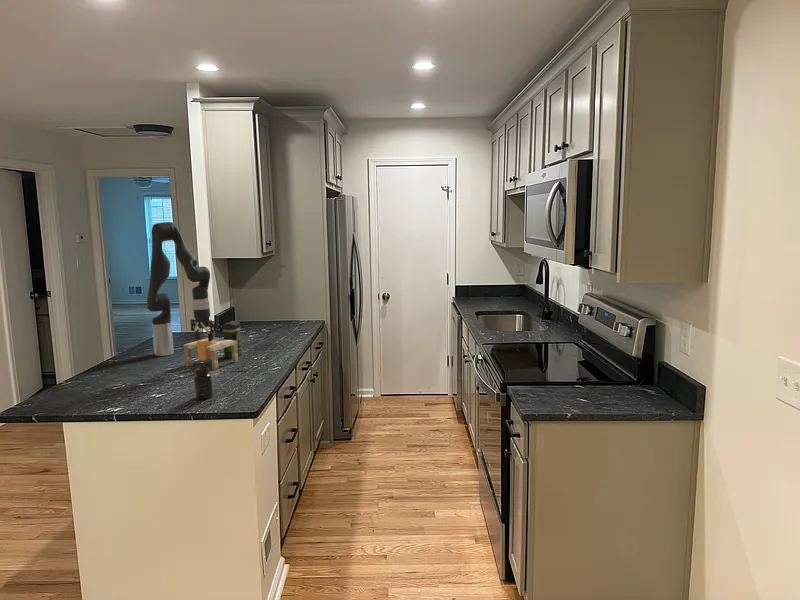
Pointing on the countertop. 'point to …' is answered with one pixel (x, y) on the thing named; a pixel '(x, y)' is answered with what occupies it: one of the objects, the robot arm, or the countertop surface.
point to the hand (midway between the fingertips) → (204, 340)
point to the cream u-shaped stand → (212, 351)
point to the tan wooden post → (203, 349)
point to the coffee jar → (232, 337)
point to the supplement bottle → (203, 383)
